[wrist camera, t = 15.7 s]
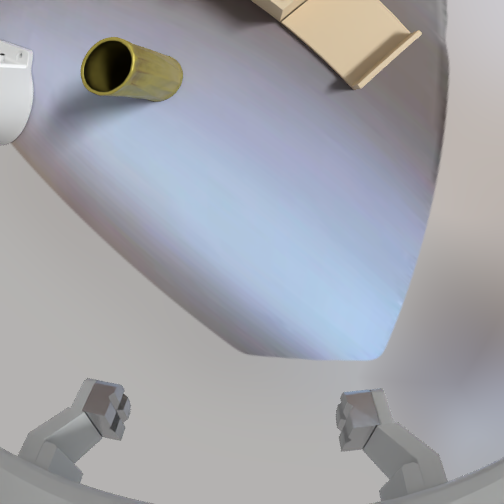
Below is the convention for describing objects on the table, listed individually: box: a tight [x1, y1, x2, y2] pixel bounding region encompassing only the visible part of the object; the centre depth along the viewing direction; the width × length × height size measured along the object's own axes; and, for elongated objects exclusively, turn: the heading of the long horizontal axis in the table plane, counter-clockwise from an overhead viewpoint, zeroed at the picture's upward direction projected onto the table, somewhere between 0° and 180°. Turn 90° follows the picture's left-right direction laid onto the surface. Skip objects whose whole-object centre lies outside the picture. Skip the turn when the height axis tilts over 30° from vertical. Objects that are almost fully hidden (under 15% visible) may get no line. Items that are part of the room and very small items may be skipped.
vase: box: [81, 37, 183, 101], centre depth 25 cm, size 6×6×14 cm
